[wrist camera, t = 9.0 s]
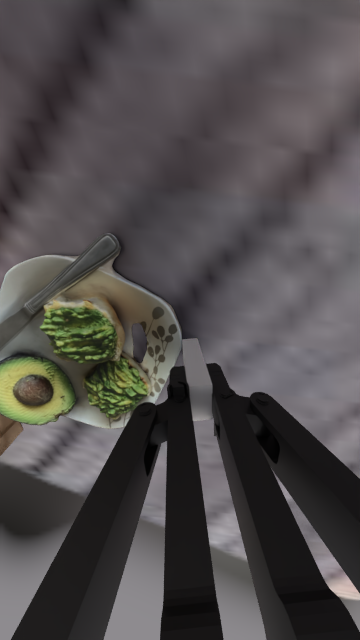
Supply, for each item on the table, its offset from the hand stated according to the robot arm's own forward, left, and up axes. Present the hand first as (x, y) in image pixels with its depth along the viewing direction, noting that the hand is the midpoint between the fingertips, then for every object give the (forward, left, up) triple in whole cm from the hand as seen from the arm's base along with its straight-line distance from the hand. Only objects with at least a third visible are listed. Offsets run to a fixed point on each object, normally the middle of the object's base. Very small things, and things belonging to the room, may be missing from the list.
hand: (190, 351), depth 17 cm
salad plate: (0, -10, -2) cm, 11 cm away
